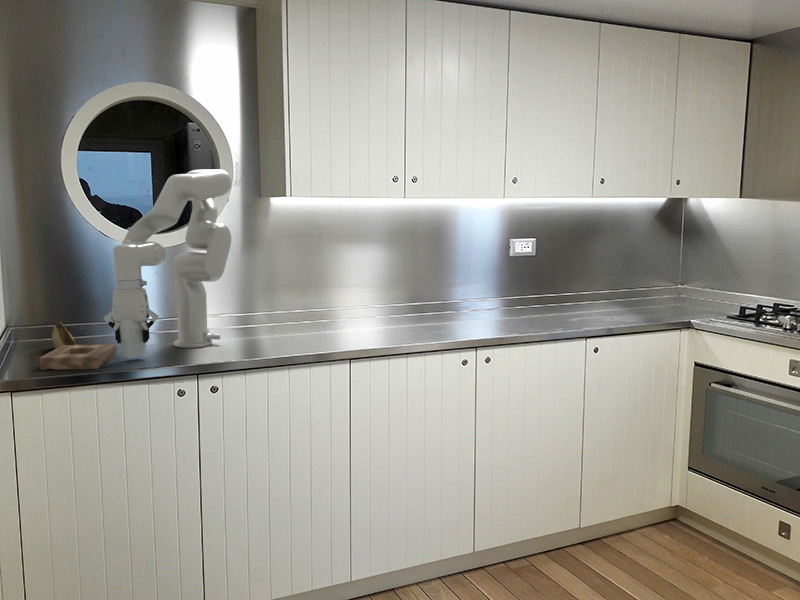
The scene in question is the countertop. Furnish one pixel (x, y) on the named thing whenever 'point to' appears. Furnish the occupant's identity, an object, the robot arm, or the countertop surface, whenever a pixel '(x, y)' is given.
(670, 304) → the countertop surface
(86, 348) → the walnut holder
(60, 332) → the rock
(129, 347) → the skincare box
